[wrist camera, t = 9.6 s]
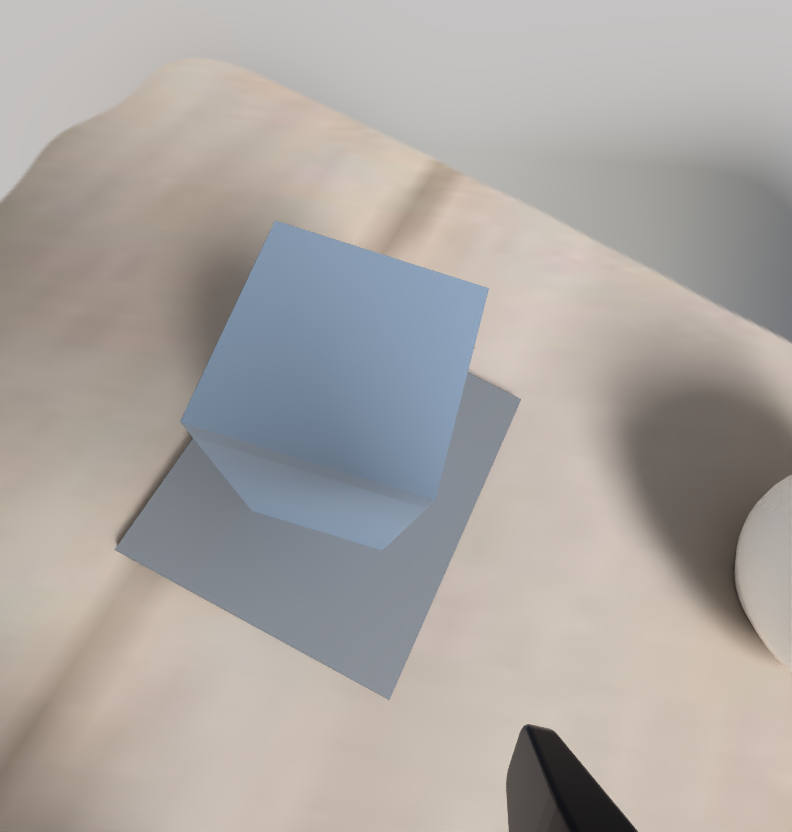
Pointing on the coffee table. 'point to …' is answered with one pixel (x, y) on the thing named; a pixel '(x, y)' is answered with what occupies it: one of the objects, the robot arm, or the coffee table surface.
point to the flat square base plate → (321, 553)
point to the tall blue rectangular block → (337, 386)
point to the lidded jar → (768, 570)
